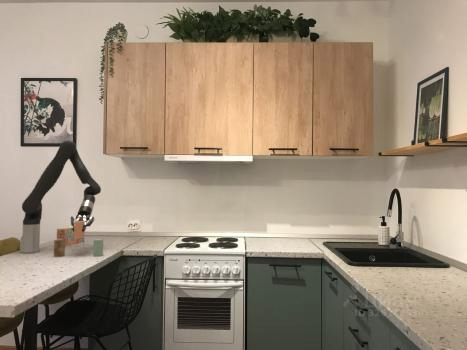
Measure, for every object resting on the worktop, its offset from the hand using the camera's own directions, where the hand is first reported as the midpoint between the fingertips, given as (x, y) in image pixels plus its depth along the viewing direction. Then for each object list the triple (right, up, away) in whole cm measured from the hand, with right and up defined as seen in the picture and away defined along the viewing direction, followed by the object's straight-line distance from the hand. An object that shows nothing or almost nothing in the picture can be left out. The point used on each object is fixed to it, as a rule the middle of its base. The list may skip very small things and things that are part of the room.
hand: (78, 230), depth 188 cm
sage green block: (+11, -15, +3) cm, 19 cm away
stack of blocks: (-24, -16, +38) cm, 48 cm away
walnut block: (-11, -15, 0) cm, 19 cm away
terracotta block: (0, -4, +2) cm, 5 cm away
